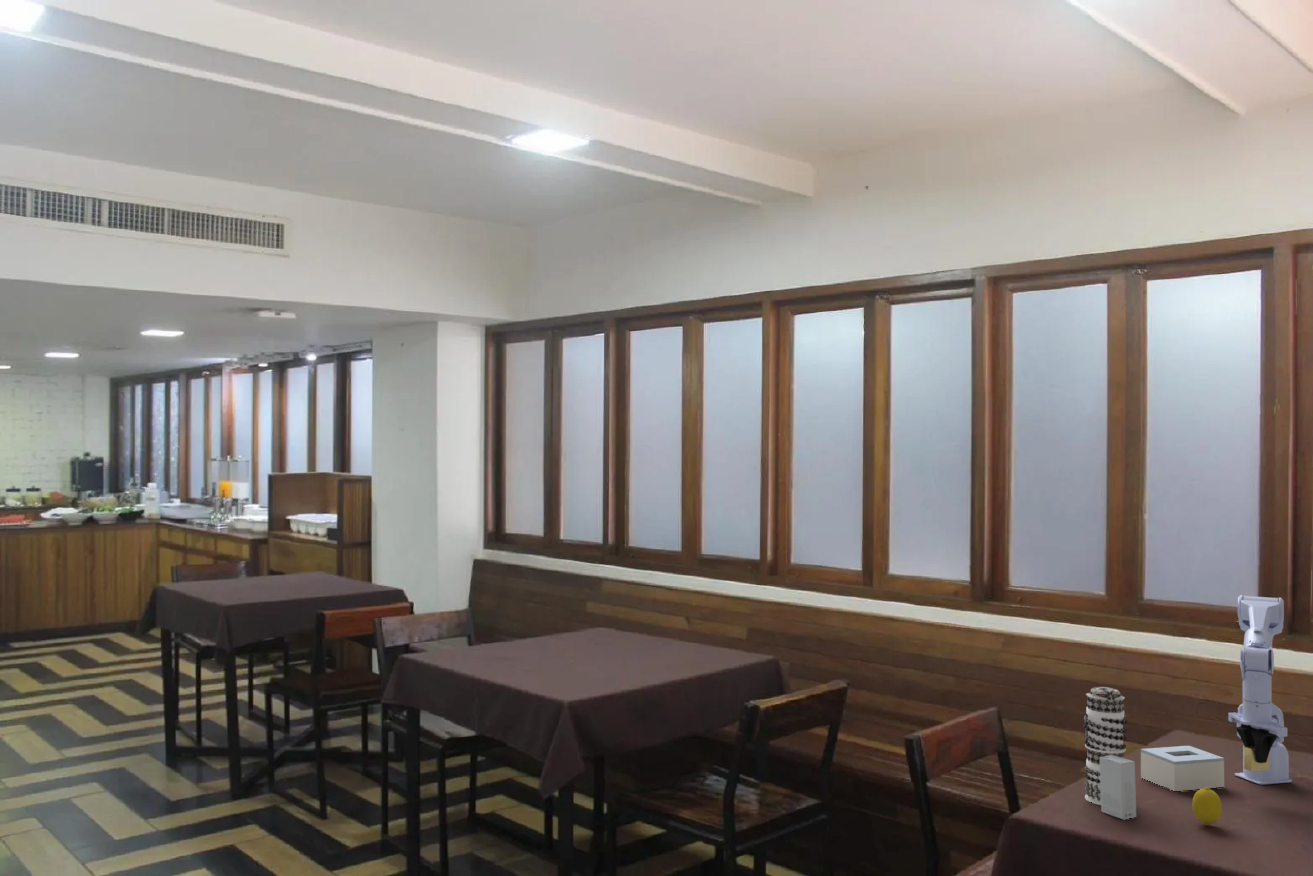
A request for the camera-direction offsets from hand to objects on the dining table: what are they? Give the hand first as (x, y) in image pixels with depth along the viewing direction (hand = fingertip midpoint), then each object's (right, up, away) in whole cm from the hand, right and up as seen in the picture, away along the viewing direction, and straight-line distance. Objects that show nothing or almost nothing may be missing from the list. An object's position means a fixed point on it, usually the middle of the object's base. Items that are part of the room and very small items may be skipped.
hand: (1257, 761), depth 235 cm
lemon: (-20, -9, -17) cm, 28 cm away
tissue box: (-11, -9, +12) cm, 19 cm away
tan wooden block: (0, -2, 0) cm, 2 cm away
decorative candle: (-35, -9, -1) cm, 36 cm away
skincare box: (-37, -9, -11) cm, 39 cm away
